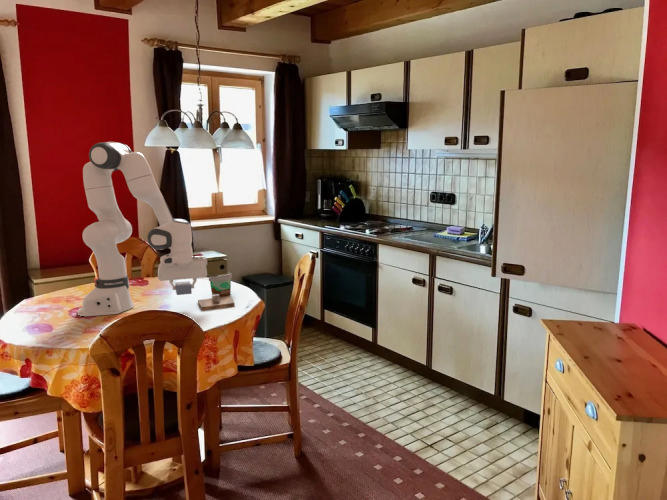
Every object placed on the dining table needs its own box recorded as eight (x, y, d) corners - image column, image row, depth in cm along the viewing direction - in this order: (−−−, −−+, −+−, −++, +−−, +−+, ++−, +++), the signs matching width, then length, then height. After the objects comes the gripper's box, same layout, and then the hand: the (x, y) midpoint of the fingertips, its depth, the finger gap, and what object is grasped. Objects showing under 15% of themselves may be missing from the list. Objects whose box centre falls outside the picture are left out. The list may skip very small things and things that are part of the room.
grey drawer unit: (177, 295, 227) (176, 285, 226) (175, 291, 232) (175, 282, 231) (191, 293, 229) (191, 284, 228) (189, 290, 234) (189, 280, 233)
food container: (218, 299, 245) (217, 278, 243) (209, 297, 249) (208, 276, 247) (238, 293, 255) (237, 272, 253) (229, 291, 258) (228, 271, 256)
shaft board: (201, 310, 229) (201, 300, 228) (198, 303, 240) (197, 293, 239) (234, 306, 234) (234, 296, 233) (229, 299, 245) (228, 289, 244)
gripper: (205, 254, 234) (206, 285, 237) (156, 257, 227) (158, 289, 229) (208, 257, 228) (209, 288, 231) (157, 260, 221) (159, 292, 224)
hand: (183, 288), depth 230 cm, fingers closed on grey drawer unit, 6 cm apart
